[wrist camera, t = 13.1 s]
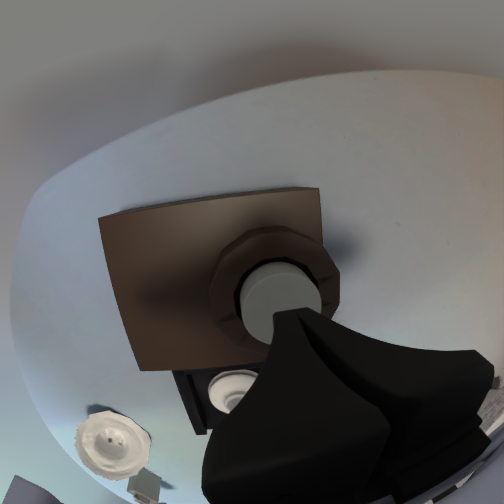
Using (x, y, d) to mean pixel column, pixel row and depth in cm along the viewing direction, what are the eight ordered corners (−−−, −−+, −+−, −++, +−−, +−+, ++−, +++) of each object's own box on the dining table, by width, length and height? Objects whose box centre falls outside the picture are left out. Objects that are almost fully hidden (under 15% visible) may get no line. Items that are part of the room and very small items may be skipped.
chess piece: (278, 377, 20) (306, 479, 11) (252, 414, 21) (266, 507, 12) (221, 360, 20) (222, 471, 10) (200, 400, 20) (194, 499, 11)
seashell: (114, 404, 25) (57, 417, 19) (135, 402, 23) (70, 420, 16) (139, 461, 23) (87, 481, 16) (164, 466, 21) (106, 493, 14)
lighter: (131, 466, 24) (121, 512, 16) (139, 465, 24) (129, 512, 16) (168, 488, 26) (164, 531, 18) (177, 486, 26) (174, 530, 18)
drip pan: (296, 412, 23) (302, 428, 21) (194, 424, 22) (193, 441, 20) (294, 328, 20) (301, 344, 18) (166, 343, 20) (161, 360, 18)
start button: (311, 321, 14) (322, 338, 12) (244, 332, 14) (247, 350, 12) (309, 256, 13) (321, 267, 11) (235, 266, 13) (237, 279, 11)
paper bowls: (506, 380, 30) (527, 400, 22) (459, 438, 32) (476, 460, 24) (487, 370, 27) (516, 395, 19) (428, 440, 29) (449, 470, 22)
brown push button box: (310, 320, 20) (337, 365, 15) (153, 339, 20) (133, 388, 14) (302, 186, 18) (336, 188, 12) (123, 210, 17) (82, 223, 11)
